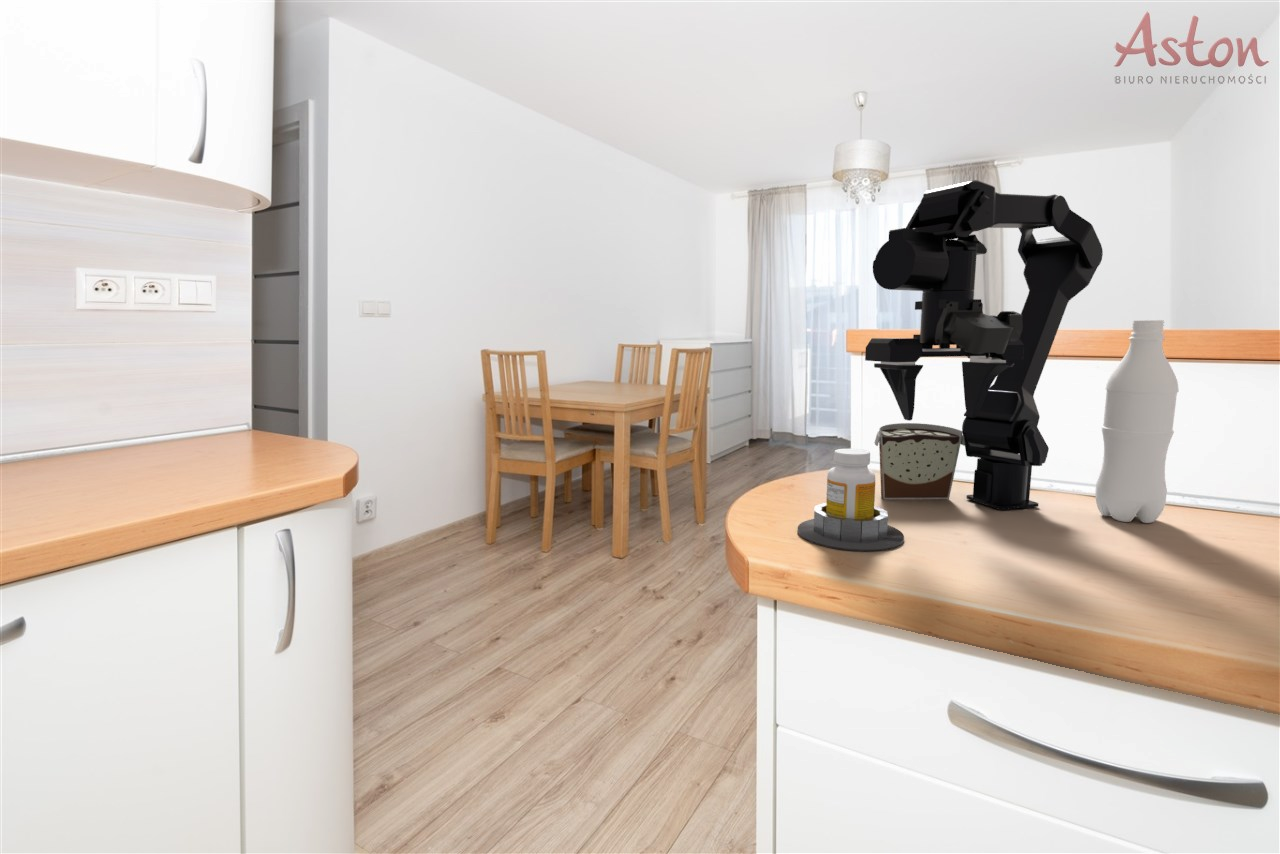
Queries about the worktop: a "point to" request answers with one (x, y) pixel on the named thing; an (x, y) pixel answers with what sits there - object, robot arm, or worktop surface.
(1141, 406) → the water bottle
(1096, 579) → the worktop surface
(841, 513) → the supplement bottle
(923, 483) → the food container
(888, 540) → the ring collar
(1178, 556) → the worktop surface
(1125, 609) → the worktop surface
